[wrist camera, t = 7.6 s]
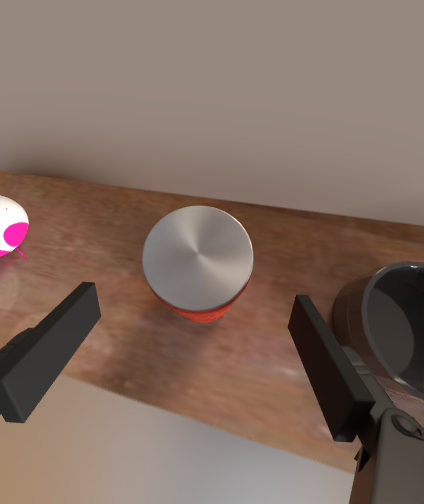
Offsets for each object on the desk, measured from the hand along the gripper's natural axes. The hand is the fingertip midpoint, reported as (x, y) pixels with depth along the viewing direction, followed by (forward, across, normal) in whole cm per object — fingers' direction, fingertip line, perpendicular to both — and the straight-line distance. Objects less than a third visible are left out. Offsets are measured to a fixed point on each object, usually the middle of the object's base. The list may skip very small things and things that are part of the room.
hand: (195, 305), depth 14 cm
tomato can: (+8, 0, -4) cm, 9 cm away
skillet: (+6, +19, -6) cm, 21 cm away
